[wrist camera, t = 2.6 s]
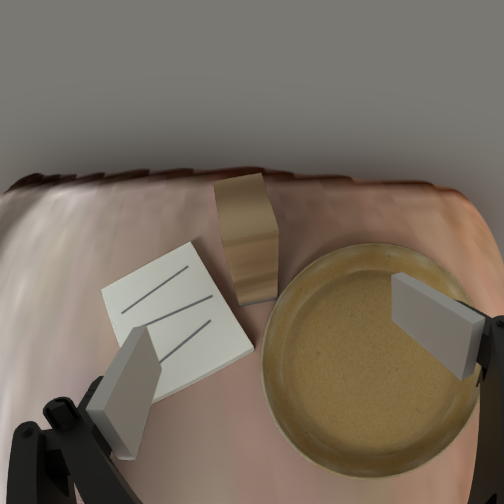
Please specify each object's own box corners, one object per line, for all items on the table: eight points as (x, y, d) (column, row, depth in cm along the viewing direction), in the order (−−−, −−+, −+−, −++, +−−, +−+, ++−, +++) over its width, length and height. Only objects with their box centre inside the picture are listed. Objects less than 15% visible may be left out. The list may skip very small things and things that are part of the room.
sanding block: (277, 299, 31) (279, 230, 21) (239, 306, 30) (222, 241, 20) (265, 251, 34) (261, 172, 24) (230, 258, 34) (213, 181, 24)
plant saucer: (441, 484, 18) (457, 487, 15) (223, 436, 24) (217, 438, 21) (476, 289, 29) (489, 276, 26) (304, 234, 35) (306, 217, 32)
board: (107, 295, 32) (100, 289, 31) (193, 248, 35) (190, 241, 33) (150, 405, 25) (143, 403, 24) (254, 350, 28) (253, 346, 26)
